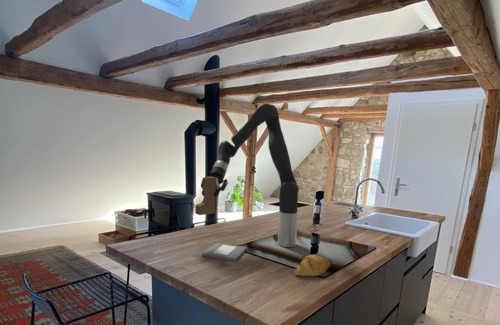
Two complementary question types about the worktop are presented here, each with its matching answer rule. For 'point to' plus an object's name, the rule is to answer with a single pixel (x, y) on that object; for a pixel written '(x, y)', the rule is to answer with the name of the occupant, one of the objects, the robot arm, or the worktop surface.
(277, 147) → the robot arm
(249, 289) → the worktop surface
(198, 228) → the worktop surface
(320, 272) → the croissant
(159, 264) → the worktop surface
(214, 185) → the wooden block
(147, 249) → the worktop surface
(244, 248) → the socket board
